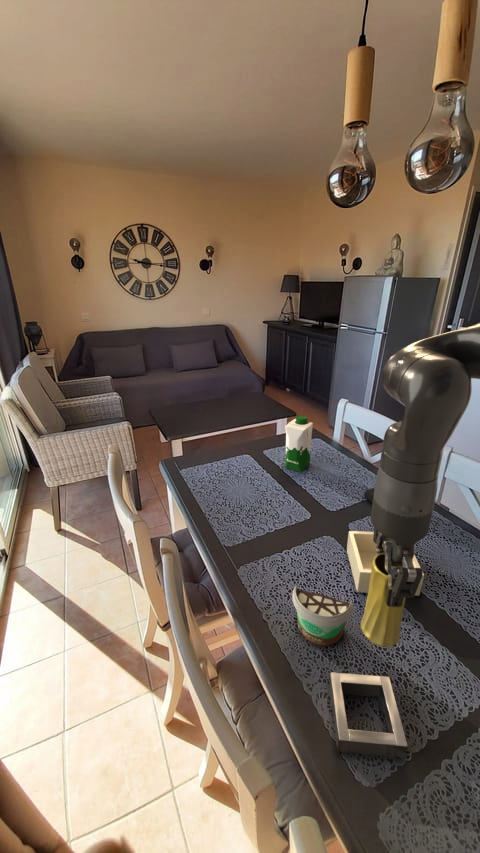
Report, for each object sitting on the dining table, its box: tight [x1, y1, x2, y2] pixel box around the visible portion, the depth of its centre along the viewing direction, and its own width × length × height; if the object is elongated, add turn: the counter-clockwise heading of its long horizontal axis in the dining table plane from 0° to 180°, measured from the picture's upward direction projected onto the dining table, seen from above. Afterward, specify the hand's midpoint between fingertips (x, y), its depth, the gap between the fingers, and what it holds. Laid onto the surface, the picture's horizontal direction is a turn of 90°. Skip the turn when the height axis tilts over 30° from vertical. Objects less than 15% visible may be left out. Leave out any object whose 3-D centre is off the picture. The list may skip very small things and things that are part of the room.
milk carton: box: [284, 414, 314, 473], centre depth 134 cm, size 9×9×20 cm
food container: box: [291, 585, 354, 647], centre depth 73 cm, size 12×6×10 cm, turn 68°
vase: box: [360, 553, 406, 648], centre depth 57 cm, size 6×6×14 cm
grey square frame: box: [328, 671, 409, 759], centre depth 61 cm, size 10×10×4 cm
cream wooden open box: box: [346, 530, 425, 597], centre depth 89 cm, size 14×14×7 cm
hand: (387, 587), depth 56 cm, fingers closed on vase, 5 cm apart
